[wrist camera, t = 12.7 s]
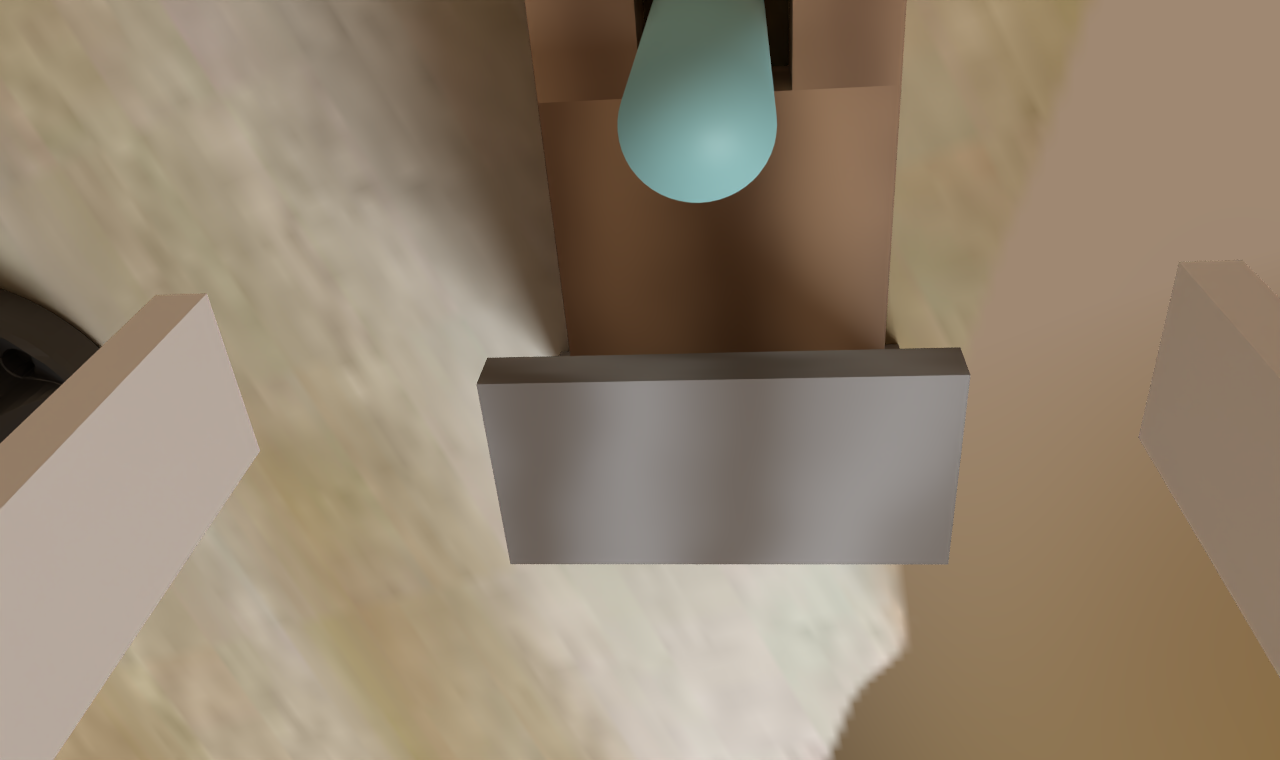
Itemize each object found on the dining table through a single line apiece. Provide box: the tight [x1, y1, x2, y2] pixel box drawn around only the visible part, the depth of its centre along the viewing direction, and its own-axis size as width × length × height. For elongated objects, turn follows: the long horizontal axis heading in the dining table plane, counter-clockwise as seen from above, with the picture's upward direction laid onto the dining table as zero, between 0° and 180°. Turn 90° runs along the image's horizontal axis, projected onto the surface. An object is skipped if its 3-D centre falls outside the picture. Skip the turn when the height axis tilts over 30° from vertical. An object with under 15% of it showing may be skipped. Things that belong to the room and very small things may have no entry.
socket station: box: [477, 0, 970, 564], centre depth 32 cm, size 14×20×12 cm
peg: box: [617, 0, 777, 203], centre depth 29 cm, size 4×4×14 cm
